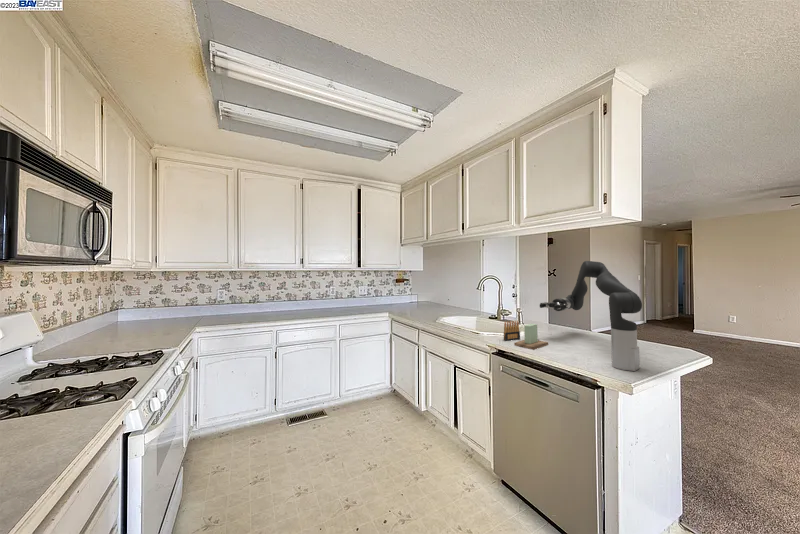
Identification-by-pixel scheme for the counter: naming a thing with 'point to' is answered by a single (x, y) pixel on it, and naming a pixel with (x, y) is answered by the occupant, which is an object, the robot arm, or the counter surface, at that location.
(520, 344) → the bolt board
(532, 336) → the green bar
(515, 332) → the ammunition clip
